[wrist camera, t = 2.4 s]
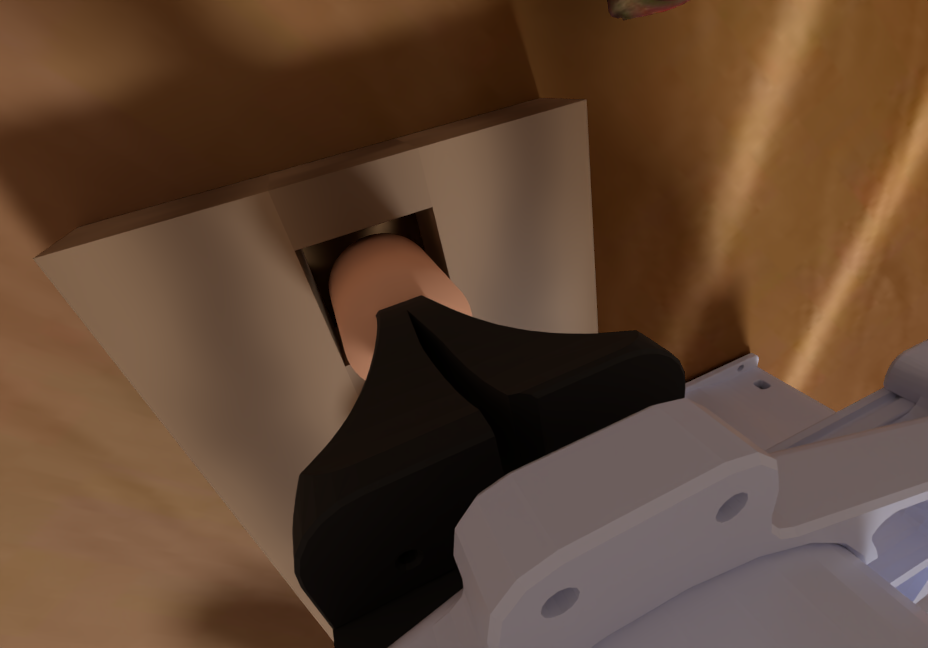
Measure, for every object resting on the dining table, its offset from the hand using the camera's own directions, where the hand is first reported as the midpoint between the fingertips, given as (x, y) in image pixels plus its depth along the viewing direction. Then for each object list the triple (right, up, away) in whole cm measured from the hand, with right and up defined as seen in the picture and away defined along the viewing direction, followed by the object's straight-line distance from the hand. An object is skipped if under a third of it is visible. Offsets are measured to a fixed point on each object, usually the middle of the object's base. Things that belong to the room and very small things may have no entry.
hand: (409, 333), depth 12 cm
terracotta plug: (-1, +2, +3) cm, 4 cm away
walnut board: (-1, -4, +9) cm, 10 cm away
